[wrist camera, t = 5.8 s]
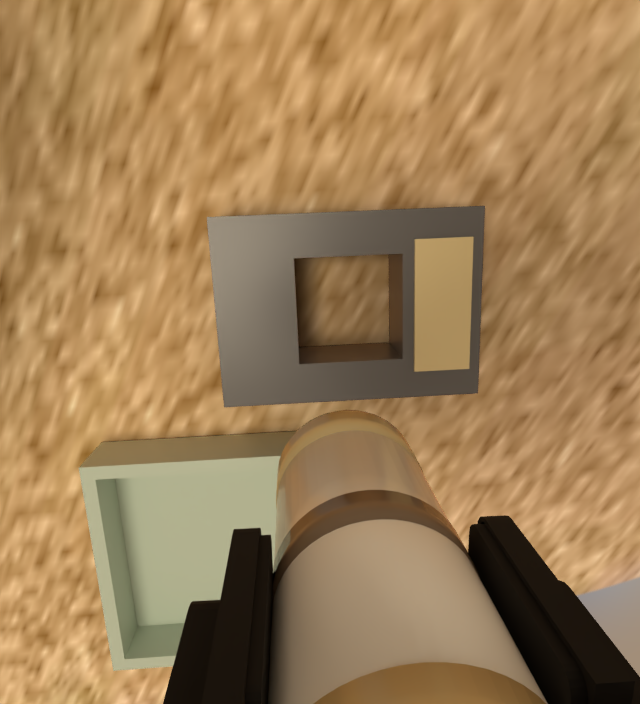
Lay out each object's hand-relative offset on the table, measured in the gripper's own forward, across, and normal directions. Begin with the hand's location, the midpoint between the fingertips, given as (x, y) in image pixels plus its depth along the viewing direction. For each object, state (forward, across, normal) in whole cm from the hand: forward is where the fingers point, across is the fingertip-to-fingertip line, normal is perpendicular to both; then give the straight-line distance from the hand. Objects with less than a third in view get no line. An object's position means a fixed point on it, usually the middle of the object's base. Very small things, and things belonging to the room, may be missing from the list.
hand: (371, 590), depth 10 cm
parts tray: (+22, +5, +13) cm, 25 cm away
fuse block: (+21, -2, -3) cm, 22 cm away
